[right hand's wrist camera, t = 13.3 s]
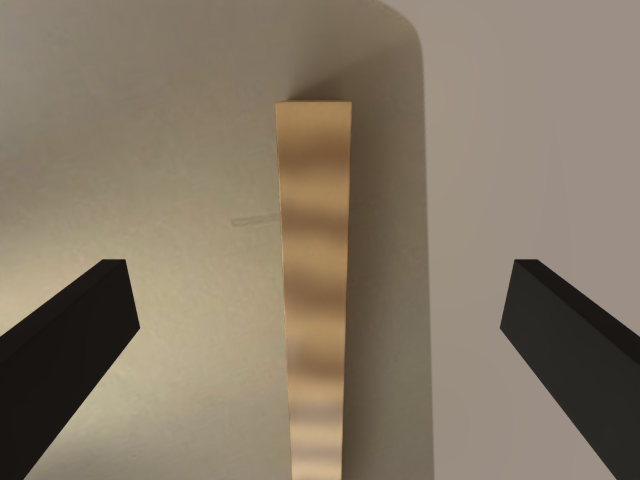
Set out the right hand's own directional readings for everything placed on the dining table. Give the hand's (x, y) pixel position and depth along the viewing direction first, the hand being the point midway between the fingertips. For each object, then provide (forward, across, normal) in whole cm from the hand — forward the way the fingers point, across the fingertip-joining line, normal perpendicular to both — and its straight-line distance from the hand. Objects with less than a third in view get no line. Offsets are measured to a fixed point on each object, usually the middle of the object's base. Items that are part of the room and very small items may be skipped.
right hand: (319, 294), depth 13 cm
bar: (+22, 0, -19) cm, 29 cm away
